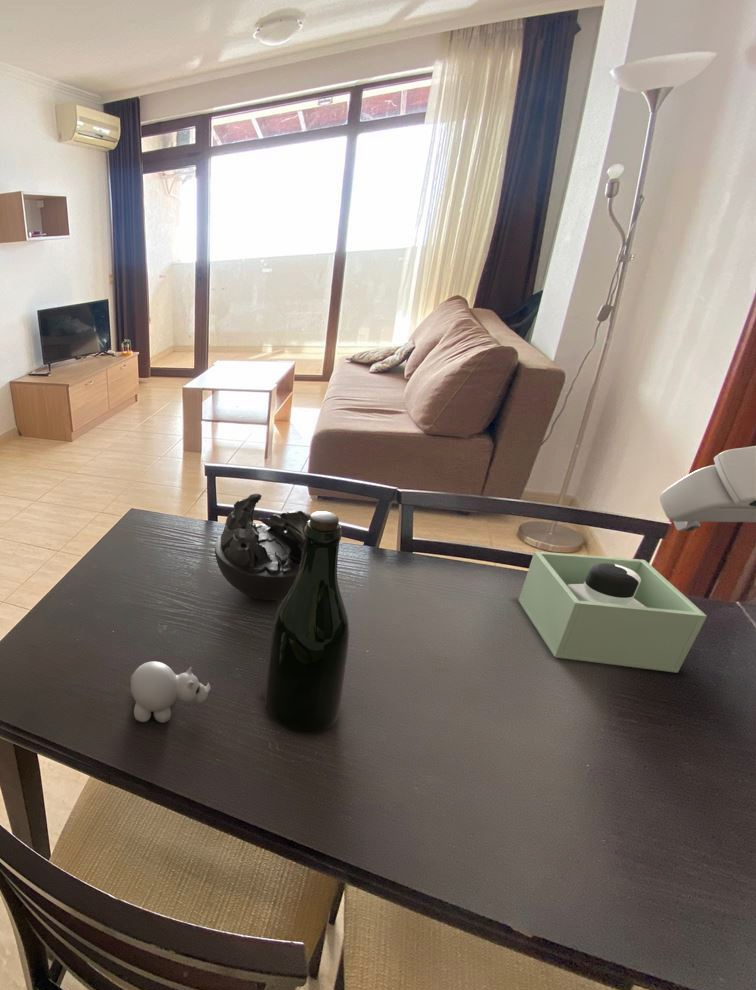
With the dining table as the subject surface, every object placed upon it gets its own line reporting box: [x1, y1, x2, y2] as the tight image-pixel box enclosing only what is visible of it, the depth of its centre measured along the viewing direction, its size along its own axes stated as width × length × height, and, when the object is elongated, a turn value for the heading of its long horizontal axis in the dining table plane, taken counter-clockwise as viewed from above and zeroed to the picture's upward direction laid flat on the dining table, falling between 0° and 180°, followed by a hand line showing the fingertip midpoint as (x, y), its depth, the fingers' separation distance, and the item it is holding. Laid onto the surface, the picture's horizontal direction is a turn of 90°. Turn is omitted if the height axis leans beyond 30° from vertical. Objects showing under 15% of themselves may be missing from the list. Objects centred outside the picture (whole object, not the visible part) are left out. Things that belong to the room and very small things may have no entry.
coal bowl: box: [214, 492, 311, 601], centre depth 105 cm, size 20×20×19 cm
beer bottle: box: [264, 510, 350, 734], centre depth 74 cm, size 10×10×33 cm
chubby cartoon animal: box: [129, 660, 212, 724], centre depth 81 cm, size 7×12×8 cm, turn 83°
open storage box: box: [518, 550, 708, 674], centre depth 89 cm, size 16×16×11 cm
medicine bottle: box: [567, 563, 646, 607], centre depth 88 cm, size 7×7×12 cm
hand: (725, 525), depth 70 cm, fingers open, 8 cm apart
